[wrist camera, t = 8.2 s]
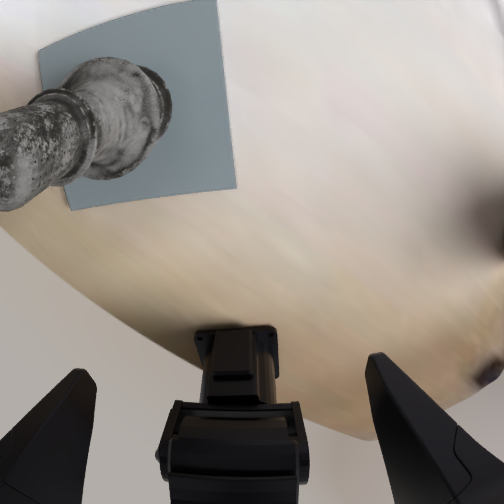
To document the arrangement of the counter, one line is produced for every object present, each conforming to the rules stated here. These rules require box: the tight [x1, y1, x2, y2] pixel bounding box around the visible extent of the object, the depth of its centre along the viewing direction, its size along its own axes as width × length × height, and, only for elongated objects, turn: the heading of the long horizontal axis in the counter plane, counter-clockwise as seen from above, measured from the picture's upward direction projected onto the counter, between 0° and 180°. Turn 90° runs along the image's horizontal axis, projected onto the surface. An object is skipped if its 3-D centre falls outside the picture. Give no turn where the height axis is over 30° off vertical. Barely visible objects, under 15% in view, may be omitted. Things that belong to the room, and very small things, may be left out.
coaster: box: [38, 0, 237, 211], centre depth 15 cm, size 11×11×1 cm
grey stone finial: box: [0, 57, 172, 212], centre depth 10 cm, size 6×6×12 cm
